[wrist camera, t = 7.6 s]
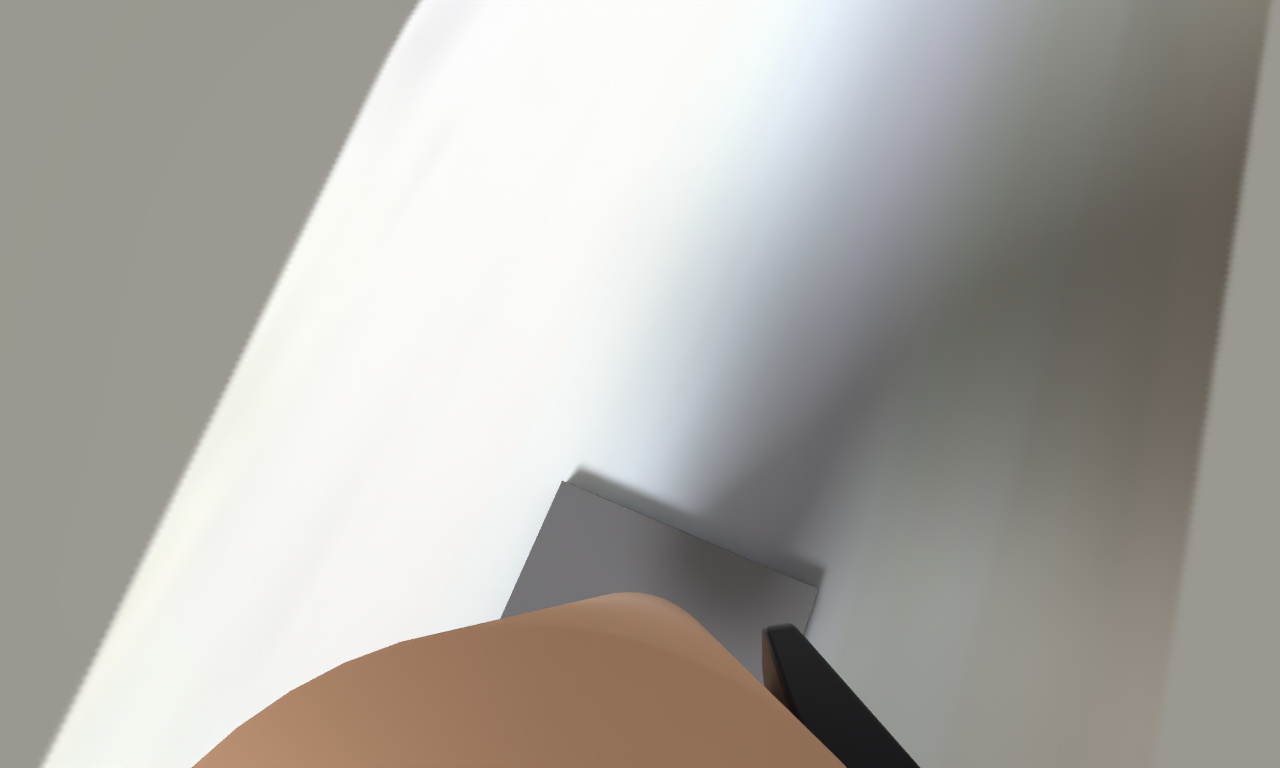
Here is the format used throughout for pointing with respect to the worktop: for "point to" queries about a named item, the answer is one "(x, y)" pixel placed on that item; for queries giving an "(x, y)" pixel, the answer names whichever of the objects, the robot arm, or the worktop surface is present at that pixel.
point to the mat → (655, 573)
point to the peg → (536, 700)
